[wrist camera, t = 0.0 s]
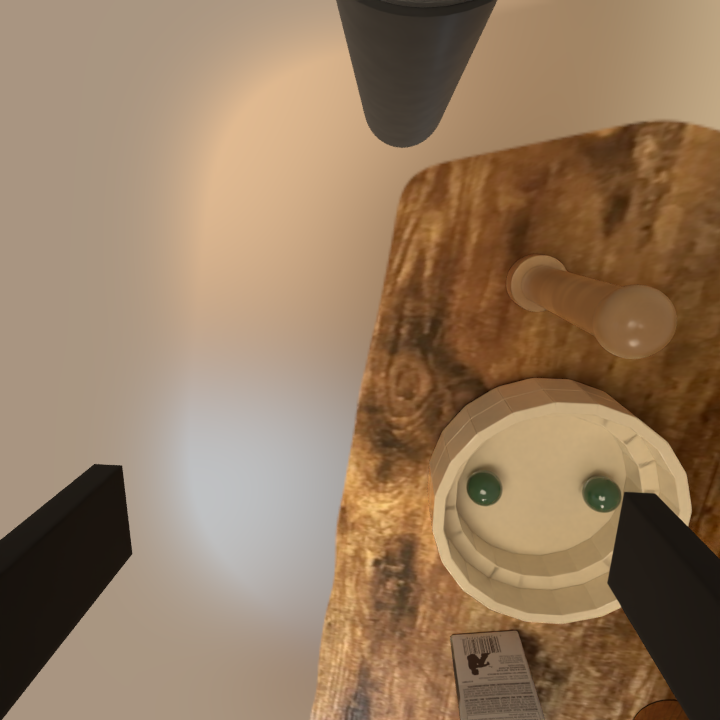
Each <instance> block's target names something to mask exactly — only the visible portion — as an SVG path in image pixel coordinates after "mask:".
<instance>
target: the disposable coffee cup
mask: <svg viewBox="0 0 720 720" xmlns="http://www.w3.org/2000/svg"><path fill="white" fill-rule="evenodd" d="M634 720H689V719H688V717H687V715H686V714H685V712H684V710H683V709H682V707H681V705H680V704H679V702H678V701H661V702H656V703H654V704H651V705H649V706H647V707H645V708H644V709H642V710H641V711H640V712H639V713H638V714H637V715H636V717H635V718H634Z"/></svg>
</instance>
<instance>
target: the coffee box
mask: <svg viewBox="0 0 720 720" xmlns="http://www.w3.org/2000/svg"><path fill="white" fill-rule="evenodd" d="M450 641H451V650H452V659H453V667H454V676H455V684H456V692H457V700H458V708H459V716H460V720H545V718H544V715H543V711H542V708H541V705H540V702H539V698H538V695H537V692H536V689H535V685H534V682H533V679H532V675H531V672H530V669H529V666H528V662H527V659H526V656H525V653H524V649H523V646H522V643H521V640H520V637H519V634H518V632H517V631H504V632H489V633H475V634H461V635H452V636H451V637H450Z"/></svg>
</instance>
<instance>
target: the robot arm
mask: <svg viewBox="0 0 720 720" xmlns="http://www.w3.org/2000/svg"><path fill="white" fill-rule="evenodd" d="M131 555H132V547H131V539H130V530H129V521H128V514H127V504H126V495H125V488H124V478H123V470H122V466H120V465H100V464H94V465H93V466H91V467H90V468H89V469H88V470H87V471H85V472H84V473H83V474H82V475H81V476H79V477H78V478H77V479H75V480H74V481H73V482H72V483H71V484H69V485H68V486H67V487H65V488H64V489H63V490H62V491H61V492H59V493H58V494H57V495H56V496H54V497H53V498H52V499H51V500H49V501H48V502H47V503H46V504H44V505H43V506H42V507H41V508H40V509H38V510H37V511H36V512H35V513H33V514H32V515H31V516H30V517H28V518H27V519H26V520H25V521H23V522H22V523H21V524H20V525H18V526H17V527H16V528H15V529H13V530H12V531H11V532H10V533H9V534H7V535H6V536H5V537H4V538H2V539H1V540H0V720H2V719H3V717H4V716H5V715H6V714H7V712H8V711H9V710H10V709H11V707H12V706H13V705H14V704H15V702H16V701H17V700H18V699H19V697H20V696H21V695H22V693H23V692H24V691H25V690H26V688H27V687H28V686H29V685H30V683H31V682H32V681H33V679H34V678H35V677H36V676H37V674H38V673H39V672H40V671H41V669H42V668H43V667H44V665H45V664H46V663H47V662H48V660H49V659H50V658H51V657H52V655H53V654H54V653H55V651H56V650H57V649H58V648H59V646H60V645H61V644H62V642H63V641H64V640H65V639H66V637H67V636H68V635H69V634H70V632H71V631H72V630H73V629H74V627H75V626H76V625H77V623H78V622H79V621H80V620H81V618H82V617H83V616H84V614H85V613H86V612H87V611H88V610H89V608H90V607H91V606H92V604H93V603H94V602H95V601H96V599H97V598H98V597H99V595H100V594H101V593H102V592H103V590H104V589H105V588H106V586H107V585H108V584H109V583H110V582H111V580H112V579H113V578H114V576H115V575H116V574H117V572H118V571H119V570H120V569H121V567H122V566H123V565H124V564H125V562H126V561H127V560H128V559H129V557H130V556H131ZM607 584H608V585H609V587H610V589H611V590H612V592H613V594H614V595H615V597H616V599H617V600H618V602H619V604H620V605H621V607H622V609H623V610H624V612H625V614H626V615H627V617H628V619H629V620H630V622H631V624H632V625H633V627H634V629H635V630H636V632H637V634H638V635H639V637H640V639H641V640H642V642H643V644H644V645H645V647H646V649H647V650H648V652H649V654H650V655H651V657H652V659H653V660H654V662H655V664H656V665H657V667H658V669H659V670H660V672H661V674H662V675H663V677H664V679H665V680H666V682H667V684H668V685H669V687H670V689H671V690H672V692H673V694H674V695H675V697H676V699H677V700H678V702H679V704H680V705H681V707H682V709H683V710H684V712H685V714H686V715H687V717H688V719H689V720H720V559H719V558H718V557H717V556H716V555H715V554H714V553H713V552H712V551H711V550H710V549H709V548H708V547H707V546H706V545H705V544H704V543H703V542H702V541H701V540H700V539H699V538H698V537H697V536H696V534H695V533H694V532H693V531H692V530H691V529H690V528H689V527H688V526H687V525H686V524H685V523H684V522H683V521H682V520H681V519H680V518H679V517H678V516H677V515H676V514H675V513H674V512H673V511H672V510H671V509H670V508H669V507H668V506H667V505H666V504H665V503H664V502H663V501H662V500H661V499H660V498H659V497H658V496H657V495H656V494H655V493H638V492H624V496H623V501H622V506H621V512H620V517H619V522H618V528H617V533H616V539H615V544H614V549H613V555H612V560H611V565H610V571H609V576H608V581H607Z"/></svg>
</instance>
